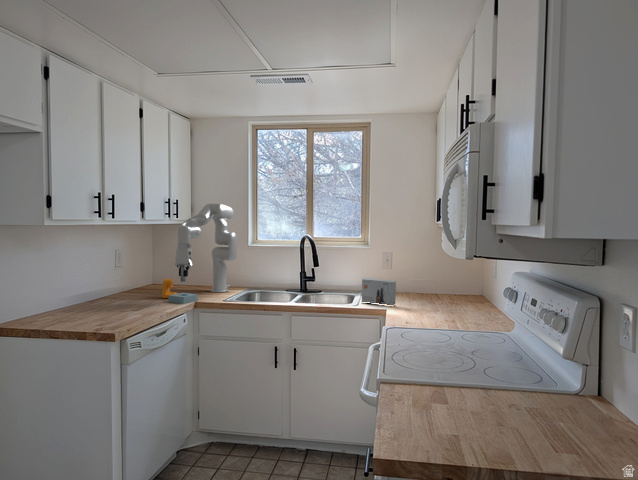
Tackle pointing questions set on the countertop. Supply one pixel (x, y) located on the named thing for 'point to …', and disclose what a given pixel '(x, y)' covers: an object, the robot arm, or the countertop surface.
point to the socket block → (183, 298)
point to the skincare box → (378, 291)
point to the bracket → (167, 288)
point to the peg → (182, 274)
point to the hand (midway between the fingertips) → (183, 276)
